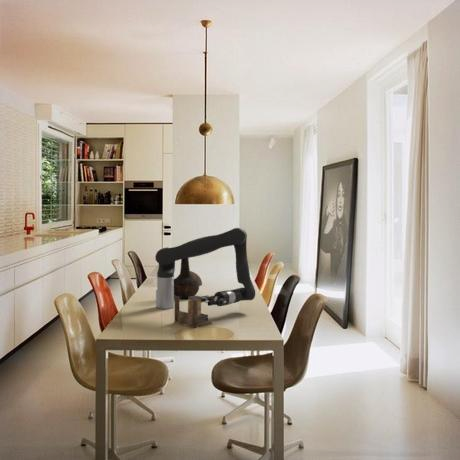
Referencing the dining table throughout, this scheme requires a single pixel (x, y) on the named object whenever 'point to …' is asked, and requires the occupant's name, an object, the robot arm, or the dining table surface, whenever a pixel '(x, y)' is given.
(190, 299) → the brown wooden block
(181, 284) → the glass bottle
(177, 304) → the board
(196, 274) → the decorative dome
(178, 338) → the dining table surface
